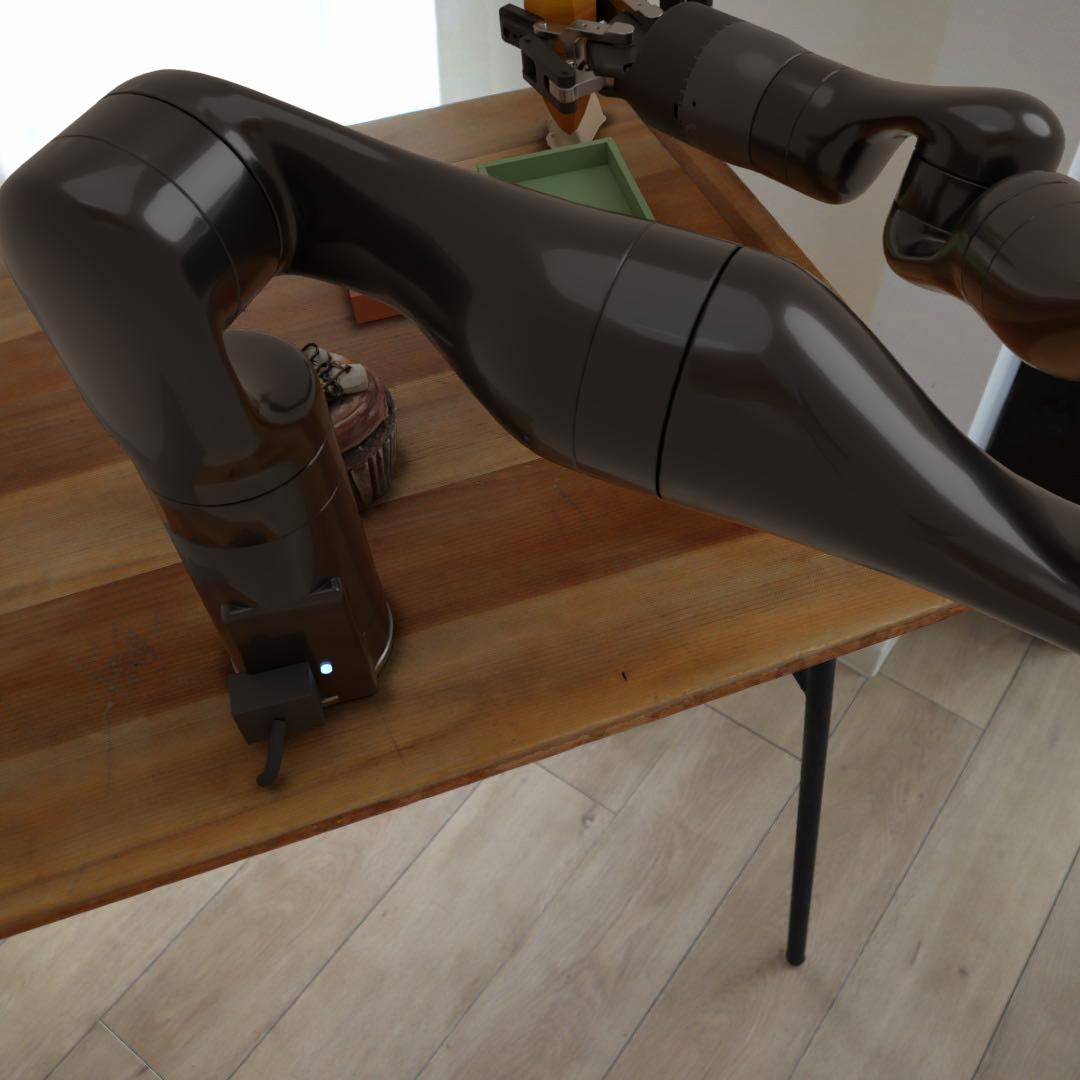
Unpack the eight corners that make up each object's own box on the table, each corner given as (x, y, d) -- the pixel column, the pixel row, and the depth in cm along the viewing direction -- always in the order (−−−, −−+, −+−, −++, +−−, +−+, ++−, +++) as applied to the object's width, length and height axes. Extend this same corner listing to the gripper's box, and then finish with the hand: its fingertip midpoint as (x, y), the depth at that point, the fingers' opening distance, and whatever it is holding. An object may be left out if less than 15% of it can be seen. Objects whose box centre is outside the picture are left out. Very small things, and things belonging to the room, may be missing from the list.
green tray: (661, 258, 88) (661, 230, 86) (516, 289, 87) (513, 262, 85) (612, 163, 97) (611, 136, 95) (479, 191, 96) (476, 164, 94)
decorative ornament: (535, 156, 98) (529, 96, 94) (570, 103, 103) (566, 44, 99) (580, 163, 97) (577, 103, 93) (614, 109, 102) (612, 50, 98)
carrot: (525, 125, 85) (502, -93, 73) (589, 108, 85) (576, -112, 74) (549, 160, 82) (529, -63, 70) (615, 141, 82) (606, -82, 71)
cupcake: (439, 452, 77) (415, 335, 70) (346, 552, 72) (309, 438, 65) (328, 402, 81) (294, 286, 73) (233, 494, 76) (185, 380, 69)
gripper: (811, -21, 70) (605, -93, 78) (643, 79, 64) (442, -11, 73) (799, 97, 75) (609, 17, 84) (645, 198, 70) (459, 101, 78)
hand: (533, 5), depth 78 cm, fingers closed on carrot, 4 cm apart
